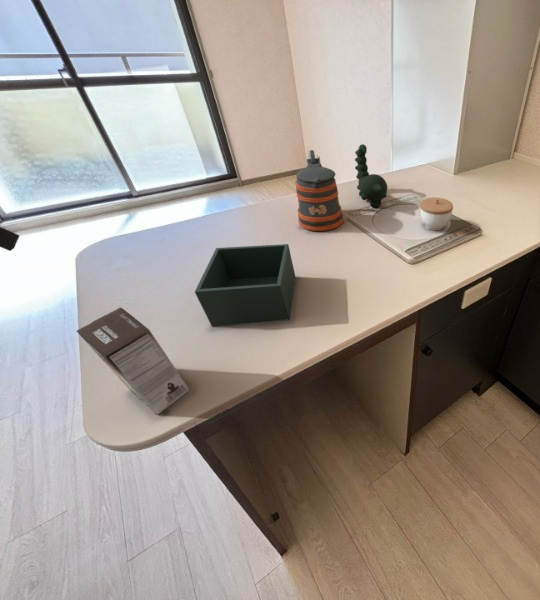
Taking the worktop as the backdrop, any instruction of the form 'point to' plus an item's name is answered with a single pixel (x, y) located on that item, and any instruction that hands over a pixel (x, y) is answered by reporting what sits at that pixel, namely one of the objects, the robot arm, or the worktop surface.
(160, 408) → the coffee box
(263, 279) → the waste bin
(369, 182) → the toy figurine
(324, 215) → the beer stein
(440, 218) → the trinket box
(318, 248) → the worktop surface
